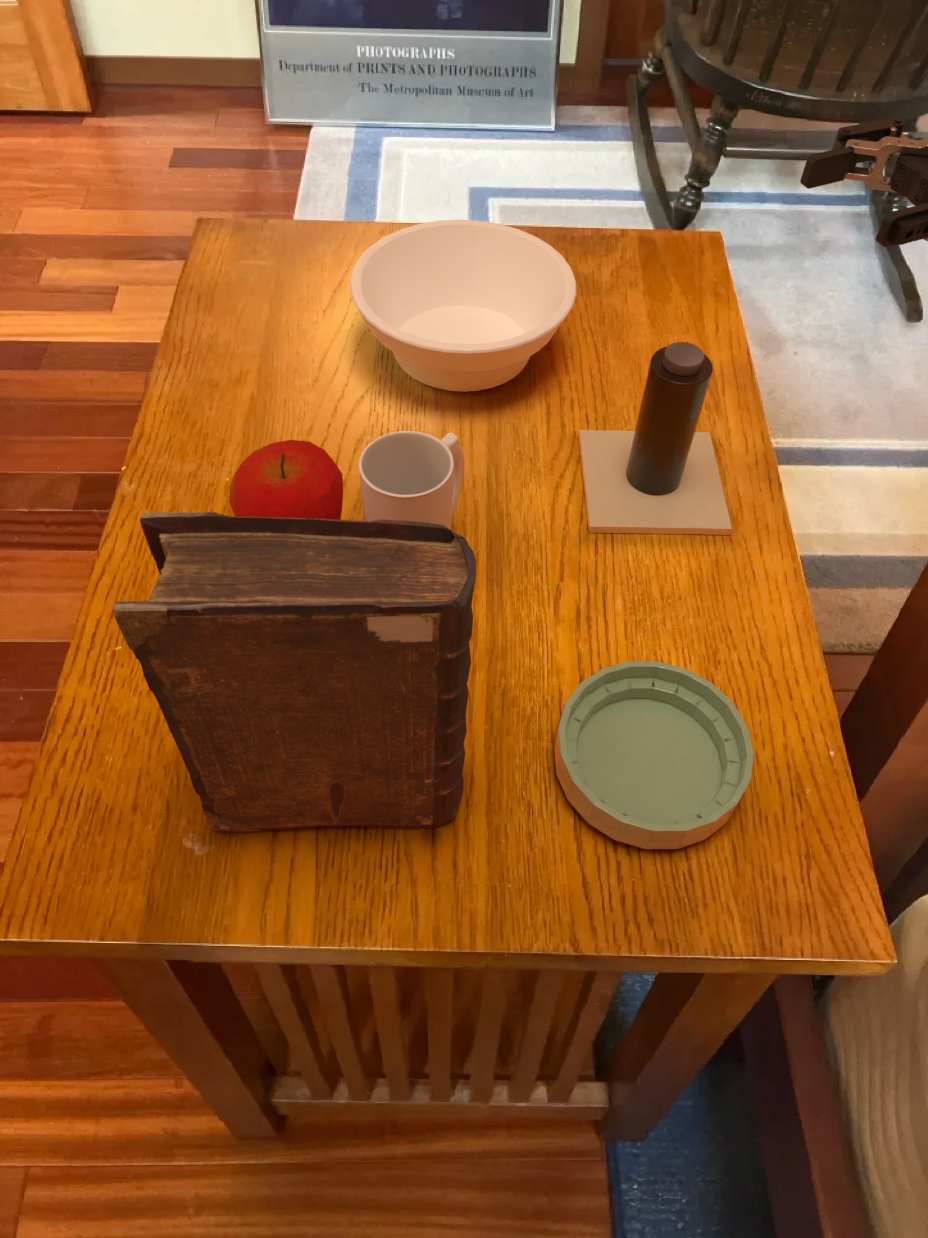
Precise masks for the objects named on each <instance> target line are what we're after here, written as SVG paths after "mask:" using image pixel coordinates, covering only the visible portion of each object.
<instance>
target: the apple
mask: <svg viewBox="0 0 928 1238" xmlns="http://www.w3.org/2000/svg"><path fill="white" fill-rule="evenodd" d="M343 477H344V476H343V472H342V471H341V470H340V468H339V466H338V465H337V463H336V462H335V461H334V459H333V458H332V457H331V456H330V455H329V453H328V452H327V451H326V450H325V449H323V448H322V447H320V446H318V445H317V444H315V443H313V442H311V441H308V440H298V439H297V440H295V439H286V440H282V441H277V442H271V443H269V444H267V445H264V446H262V447H260V448H258V449H255V450H254V451H252V452H251V454H249V455H248V456H247V457H246V458H245V459H244V460H243V461H242V462H241V463H240V464H239V466H238V468H237V470H236V471H235V472H234V474H233V477H232V480H231V482H230V484H229V495H228V496H229V498H228V503H229V506H230V508H231V511H232V513H233V517H282V518H315V519H334V520H342V513H343V512H342V511H343V500H344V499H343V498H344V479H343Z"/></svg>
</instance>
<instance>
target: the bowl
mask: <svg viewBox="0 0 928 1238" xmlns="http://www.w3.org/2000/svg"><path fill="white" fill-rule="evenodd" d="M349 291H350V297H351V298H352V301H353V303H354V306H355V308H356V309H357V311H358V313H359V314H360V316H361V318H362V319H363V320H364V322H365V323H366V326H367V327H368V328H369V330H370V332H371V333H372V335H374V337H375V338H376V339H377V340H378V342H379V343H380V344H381V345H382V346H384V347H385V348H386V349H387V350H389V351H390V352H392V354H393V356H394V359H395V361H396V363H397V365H398V366H399V367H400V368H401V369H402V371H403V372H404V373H406V374H407V375H408V376H409V377H411V378H412V379H414V380H415V381H418V382H420V383H422V384H423V385H425V386H429V387H432V388H435V389H440V390H443V391H451V392H479V391H482V390H483V391H484V390H488V389H492V388H495V387H498V386H500V385H504V384H506V383H507V382H509V381H511V380H513V379H514V378H516V376H518V375H519V374H521V372H522V371H523V370H524V368H525V367H526V365H527V364H528V363H529V360H530V358H531V357H532V356H534V354H537V353H538V352H539V351H540V350H541V349H543V348H544V347H545V346H546V345H548V344H549V342H550V340H551V339H552V338H553V336H554V334H555V333H556V332H557V331H558V329H559V327H560V326H561V325H562V324H563V323H564V320H565V319H566V318H567V316H568V315H569V313H570V312H571V311H572V309H573V307H574V304H575V300H576V298H577V280H576V278H575V276H574V272H573V270H572V267H571V266H570V264H569V263H568V261H567V260H566V259H565V257H564V256H563V255H562V254H560V252H559V251H557V250H556V249H555V248H554V247H553V246H552V245H551V244H550V243H547V242H545V241H544V240H543V239H541V238H539V237H538V236H535V235H534V234H531V233H529V232H527V231H524V230H522V229H519V228H515V227H513V226H508V225H506V224H502V223H497V222H491V221H485V220H474V219H443V220H442V219H441V220H433V221H428V222H422V223H418V224H414V225H410V226H407V227H403V228H400V229H398V230H396V231H394V232H391V233H389V234H386V235H384V236H383V237H382V238H379V240H377V241H376V242H374V243H373V244H371V245H369V247H368V248H367V249H366V250H365V251H364V252H363V253H362V254H360V256H359V258H358V260H357V261H356V263H355V264H354V266H353V268H352V271H351V275H350V280H349Z"/></svg>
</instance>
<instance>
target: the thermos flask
mask: <svg viewBox="0 0 928 1238" xmlns="http://www.w3.org/2000/svg"><path fill="white" fill-rule="evenodd" d="M713 371H714V366H713V363H712V361H711V359H710V358H709V357H708V356H707V355H706V354H705V353H704V351H703V350H702V349H701V348H700V347H699V346H697V345H696V344H694V343H691V342H687V341H675V342H673V343H670V344H668V345H667V346H664V347H661V348H660V349H657V350H656V351H655V352H654V353H653V355H652V356H651V358H650V362H649V366H648V371H647V375H646V380H645V385H644V388H643V394H642V397H641V402H640V407H639V411H638V416H637V421H636V425H635V429H634V431H635V433H634V438H633V442H632V447H631V451H630V456H629V460H628V465H627V469H626V477H627V479H628V481H629V483H630V484H631V485H632V486H633V487H634V488H635V489H637V490H638V491H640V492H642V493H645V494H649V495H665V494H669V493H671V492H673V491H674V490H675V489H676V488H677V487H678V486H679V484H680V482H681V478H682V475H683V471H684V468H685V465H686V461H687V458H688V454H689V451H690V447H691V444H692V440H693V437H694V434H695V432H696V429H697V426H698V422H699V420H700V417H701V412H702V409H703V406H704V402H705V399H706V395H707V392H708V388H709V386H710V382H711V378H712V375H713Z"/></svg>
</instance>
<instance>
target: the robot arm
mask: <svg viewBox="0 0 928 1238" xmlns="http://www.w3.org/2000/svg"><path fill="white" fill-rule="evenodd" d="M906 124H907V121H906V120H904V119H903V118H900V117H892V118H887V119H881V120H880V119H879V120H876V121H875V120H874V121H870V122H864V123H859V124H853V125H848V126H841V127H839V128H838V130H837V134H836V135H835V138H834V142H833V145H832V147H831V149H830V150H826V151H821V152H819V153H818V152H817V153H813V154H811V155H809V156H808V157H807V160H806V161H805V164H804V168H803V171H802V174H801V177H800V181H799V182H800V184H801V185H802V186H803V187H805V188H806V189H808V190H809V189H814V188H817V187H823V186H826V185H830V184H835V183H838V182H842V181H845V180H851V181H858V182H864V183H866V185H867V188H868V189H869V190H875V191H882V192H883V191H884V192H891V193H896V194H899V195H901V196H902V197H905V198H906V199H907V200H908V201H909V202H910V203H911V204H912V205H913V206H909V207H906V208H902V209H897V210H894V211H890V212H889V213H887V214H886V215H885V216H884V217H883V220H882V221H881V224H880V226H879V229H878V231H877V234H876V237H875V242H876V243H877V244H879V245H880V246H881V247H883V248H886V247H891V246H902V245H906V244H909V243H913V242H917V241H921V240H924V241H926V242H928V137H914V138H910V137H908V136H907V135H906V134H904V130H905V127H906ZM894 155H897V159H896V160H895V163H894V165H893V168H892V171H891V173H890V176H884V175H882V174H883V172H884V169H885V167H886V164H887V161H888V159H889V158H890V157H893V156H894ZM870 161H871V164H870V165H869V166H868V167H862V166H861V167H860V166H857V164H858V163H864V162H870Z"/></svg>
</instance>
